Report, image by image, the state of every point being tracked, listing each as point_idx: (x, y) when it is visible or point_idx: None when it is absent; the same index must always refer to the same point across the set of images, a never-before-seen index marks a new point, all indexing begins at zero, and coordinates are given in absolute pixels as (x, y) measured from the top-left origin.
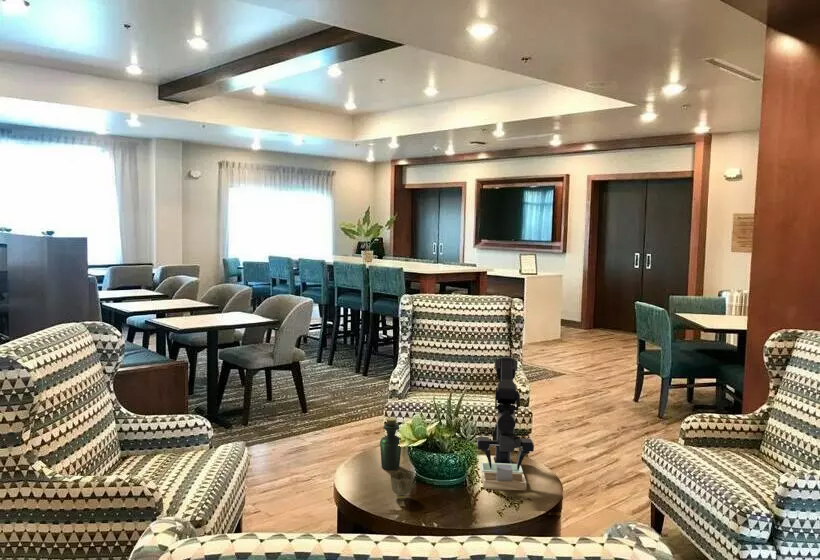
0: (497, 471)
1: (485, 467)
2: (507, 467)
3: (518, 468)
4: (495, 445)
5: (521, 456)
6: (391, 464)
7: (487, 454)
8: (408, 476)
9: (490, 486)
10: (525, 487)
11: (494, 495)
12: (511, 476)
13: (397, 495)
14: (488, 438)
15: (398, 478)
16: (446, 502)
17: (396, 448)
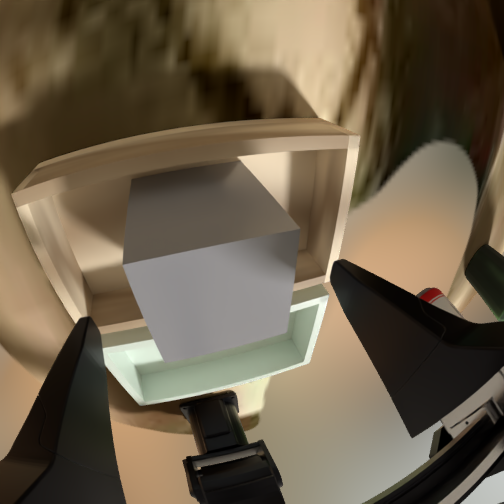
0: (289, 217)
1: (284, 350)
2: (188, 312)
3: (79, 324)
4: (436, 469)
5: (36, 450)
6: (493, 252)
7: (466, 328)
8: None
9: (294, 126)
10: (31, 175)
11: (257, 58)
12: (133, 220)
13: None
14: (492, 473)
15: None
16: (456, 12)
17: None
